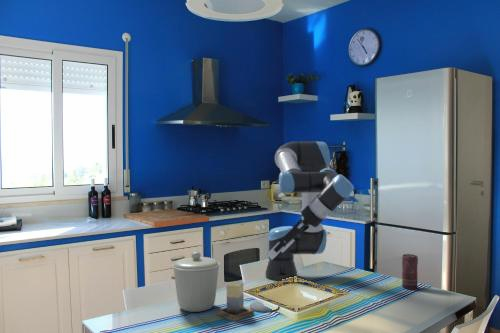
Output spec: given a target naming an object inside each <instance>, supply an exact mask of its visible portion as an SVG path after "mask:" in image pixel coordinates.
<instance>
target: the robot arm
mask: <svg viewBox="0 0 500 333" xmlns="http://www.w3.org/2000/svg"><path fill="white" fill-rule="evenodd" d="M274 163H275V165H276V166H277V168H279V170H280V173H279V175H278V188H279V189H278V190H279V192H281V193H284V194H285V193H287V194H295V193H296V194H297V193H300V194H302V197H301V198H302V205H301V212H300V213H301V219H299V220H298V221H297V222H296V224H295V225H293V226H292V225H288V226H287V225H286V226H284V225H283V226H279V227H278V226H277V227H275V228H271V229H270V230H269V232H268V252H267V253H266V256H268V263H267V266H266V270H265V278H267V279H269V280H272V281H280V280H282V279H286V278H289V277H294V276H298V270H297V267H296V263H295V260H294V258H295V256H294V255H319V254H324V252H325V250H326V248H327V247H326V246H327V240H328V238H327V236H328V235H327V231H326V229H325V228H324V225H322V222H323V221H324V219H325V220H326V219H327V217H328V216H329V217H331V216H332V212H333V211H334V210H335V209H336V208H338V206H339V205H341V204H342V202H344V201H345V200H346V199H347V198H349V196H350V194H351V193H352V192H354V190H355V187H354V185H353V183H351V181H350V180H349V179H347V177H345V176H344V175H343V174H340V173H339V174H338V172H336V171H335V170H334V169H332V168H330V165H331V156H330V150H329V146H328V144H327V143H326V141H325V142H324V141H316V140H315V141H309V140H308V141H307V140H306V141H289V142H286V143H284V144H283V145H281V146H280V147H278V148H277V150H276V151H275V154H274Z"/></svg>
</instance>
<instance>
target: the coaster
mask: <svg viewBox="0 0 500 333" xmlns="http://www.w3.org/2000/svg"><path fill="white" fill-rule="evenodd" d="M258 301H259V300H258ZM258 301H254V302H251V303H250V305H249V309H251V310H254V312H256V313H271V312H275V311H274V310H272V309H270V308H268V307H266V306H264V305H263V304H261V303H260V302H258Z"/></svg>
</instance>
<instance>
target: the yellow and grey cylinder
mask: <svg viewBox="0 0 500 333" xmlns="http://www.w3.org/2000/svg"><path fill="white" fill-rule="evenodd" d="M244 304H245V303H244V282H238V281H237V282H236V281H230V282H229V283H228V284H226V307H227V313H229V314H232V315H237V314H240V313H243V312H244V307H245V306H244Z"/></svg>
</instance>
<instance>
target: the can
mask: <svg viewBox="0 0 500 333" xmlns="http://www.w3.org/2000/svg"><path fill="white" fill-rule="evenodd" d="M401 263H402V264H401V271H402V272H401V273H402V274H401V281H402V282H401V285H402V289H405V290H411V291H414V290H415V291H416V290H417V289H418V264H419V258H418V255H417V254H416V255H415V254H411V253H410V254H409V253H406V254H403V255H402V256H401Z"/></svg>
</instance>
